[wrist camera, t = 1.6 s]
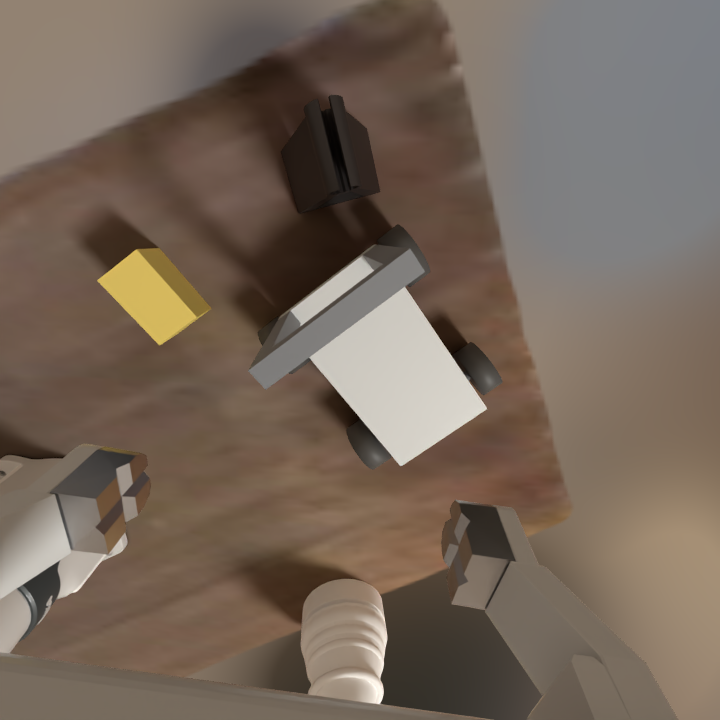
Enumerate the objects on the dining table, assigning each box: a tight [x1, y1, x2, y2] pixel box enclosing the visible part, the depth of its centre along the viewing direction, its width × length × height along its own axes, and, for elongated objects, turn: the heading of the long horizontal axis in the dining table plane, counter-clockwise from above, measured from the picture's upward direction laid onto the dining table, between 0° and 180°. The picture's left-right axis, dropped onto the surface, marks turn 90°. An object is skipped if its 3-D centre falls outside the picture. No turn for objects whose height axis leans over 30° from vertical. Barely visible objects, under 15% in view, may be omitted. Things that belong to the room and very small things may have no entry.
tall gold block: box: [97, 248, 211, 345], centre depth 37 cm, size 5×8×5 cm, turn 35°
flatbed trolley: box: [248, 225, 502, 469], centre depth 34 cm, size 22×18×21 cm
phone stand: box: [281, 95, 380, 214], centre depth 32 cm, size 9×6×12 cm, turn 104°
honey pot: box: [301, 579, 387, 704], centre depth 49 cm, size 13×13×18 cm
